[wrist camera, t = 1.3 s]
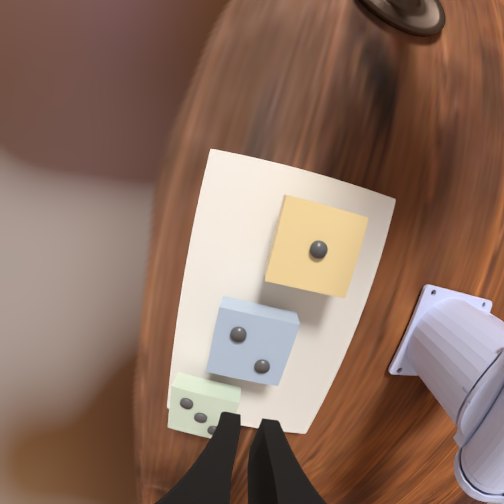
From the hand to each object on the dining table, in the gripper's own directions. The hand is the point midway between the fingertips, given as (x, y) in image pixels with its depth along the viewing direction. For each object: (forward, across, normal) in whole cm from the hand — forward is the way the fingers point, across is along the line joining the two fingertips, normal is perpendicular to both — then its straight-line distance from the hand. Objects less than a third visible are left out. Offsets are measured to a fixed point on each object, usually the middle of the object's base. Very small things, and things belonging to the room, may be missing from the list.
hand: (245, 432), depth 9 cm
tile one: (+8, -2, -7) cm, 11 cm away
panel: (+10, -1, 0) cm, 10 cm away
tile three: (+8, +2, +7) cm, 11 cm away
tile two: (+8, 0, 0) cm, 8 cm away
